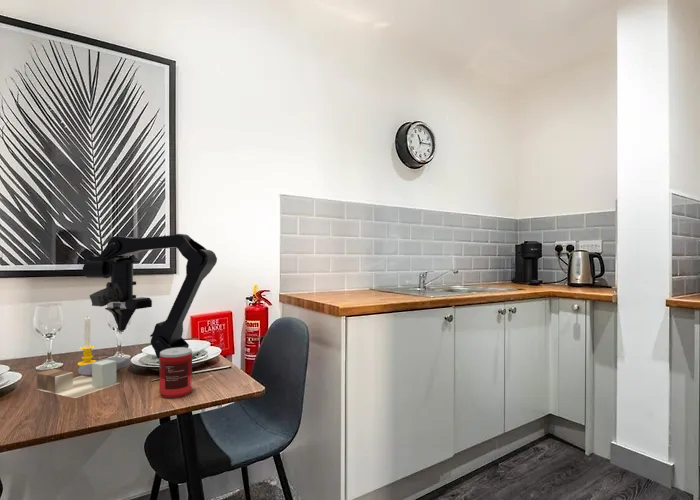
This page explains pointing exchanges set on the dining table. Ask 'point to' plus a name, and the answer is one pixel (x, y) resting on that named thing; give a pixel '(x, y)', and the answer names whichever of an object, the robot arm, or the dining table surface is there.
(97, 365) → the pale grey block
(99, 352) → the dining table surface
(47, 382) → the walnut block
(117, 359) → the stone block
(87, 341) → the candle
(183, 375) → the canned food
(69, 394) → the serving board
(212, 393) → the dining table surface
